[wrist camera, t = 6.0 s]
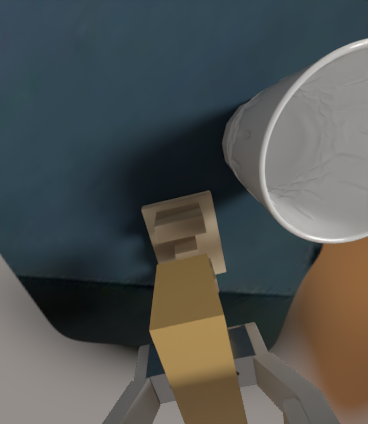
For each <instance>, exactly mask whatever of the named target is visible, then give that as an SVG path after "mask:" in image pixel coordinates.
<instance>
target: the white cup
mask: <svg viewBox="0 0 368 424" xmlns="http://www.w3.org/2000/svg"><path fill="white" fill-rule="evenodd" d="M222 147H223V152H224V158H225V162H226V163H227V165H228V166H229V167H230V169H231V170H232V171H233V172H234V174H235V176H236V177H237V179H238V180H239V181H240V182H241V183H242V184H243V186H244V187H245V188H246V189H247V190H248V191H249V193H250V194H251V195H252V196H253V197H254V198H255V199H256V200H257V201H258V202H259V203H260V204H261V205H262V206H263V207H264V208H265V209H266V210H267V211H268V212H269V213H270V214H271V215H272V216H273V217H274V218H275V219H276V220H277V221H278V222H279V223H280V224H281V225H282V226H283V227H284V228H285V229H287V230H288V231H289V232H291V233H293V234H294V235H296V236H298V237H301V238H303V239H306V240H309V241H313V242H319V243H343V242H349V241H354V240H358V239H361V238H364V237H367V236H368V39H364V40H360V41H357V42H354V43H351V44H348V45H346V46H343V47H341V48H339V49H337V50H335V51H333V52H331V53H329V54H328V55H326V56H324V57H322V58H320V59H319V60H317V61H315V62H313V63H311V64H310V65H308V66H306V67H304V68H302V69H301V70H299V71H297V72H295V73H293V74H291V75H290V76H288V77H286V78H284V79H282V80H280V81H278V82H276V83H275V84H273V85H272V86H270V87H268V88H267V89H265V90H263V91H262V92H260V93H258V94H257V95H256V96H254V97H253V98H252V99H251V100H250V101H248V102H246V103H244V104H243V105H241V106H239V108H238V109H237V110H236V112H235V113H234V114H233V115H232V117H231V118H230V119H229V121H228V122H227V124H226V128H225V132H224V136H223V140H222Z"/></svg>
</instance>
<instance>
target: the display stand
mask: <svg viewBox="0 0 368 424" xmlns="http://www.w3.org/2000/svg"><path fill="white" fill-rule="evenodd" d="M141 211H142V214H143V217H144V220H145V223H146V227H147V230H148V233H149V236H150V239H151V242H152V245H153V248H154V252H155V255H156V258H157V261H158V264H162V263H166V262H171V261H175V260H179V259H184V258H188V257H193V256H197V255H202V254H206V253H207V256H208V259H209V263H210V267H211V270H212V274H213V277H214V281H215V285H216V288H217V292H219V288H218V284H217V279H216V276H215V274H219V273H223V272H226V268H225V263H224V258H223V252H222V247H221V242H220V237H219V231H218V226H217V221H216V216H215V211H214V205H213V200H212V195H211V192H210V191H209V190H208V191H204V192H200V193H196V194H191V195H187V196H183V197H179V198H174V199H170V200H166V201H162V202H157V203H153V204H149V205H145V206H142V209H141Z"/></svg>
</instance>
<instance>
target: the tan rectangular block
mask: <svg viewBox="0 0 368 424" xmlns="http://www.w3.org/2000/svg"><path fill="white" fill-rule="evenodd" d="M149 331H150V334H151V337H152V339H153V342H154V344H155V347H156V350H157V352H158V355H159V357H160V360H161V363H162V365H163V368H164V370H165V373H166V376H167V378H168V381H169V383H170V386H171V389H172V391H173V394H174V396H175V399H176V401H177V404H178V407H179V409H180V412H181V415H182V417H183V420H184V422H185V424H247V419H246V415H245V410H244V405H243V401H242V396H241V392H240V387H239V382H238V378H237V373H236V369H235V364H234V359H233V355H232V350H231V346H230V341H229V336H228V332H227V327H226V323H225V318H224V314H223V310H222V306H221V303H220V299H219V296H218V292H217V288H216V285H215V281H214V277H213V274H212V270H211V267H210V263H209V259H208V256H207V253H206V254H202V255H197V256H193V257H188V258H184V259H179V260H175V261H171V262H166V263H162V264H157V269H156V278H155V286H154V295H153V303H152V312H151V320H150V329H149Z"/></svg>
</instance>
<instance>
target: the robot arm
mask: <svg viewBox="0 0 368 424" xmlns="http://www.w3.org/2000/svg"><path fill="white" fill-rule="evenodd" d="M227 332H228V336H229V341H230V346H231V350H232V355H233V359H234V364H235V369H236V373H237V378H238V382H239V387H244V386H250V385H255V384H258V386H259V387H260V388H261V389H262V390H263V392H264V393H265V394H266V395H267V396H268V397H269V398H270V399H271V400H272V401H273V402H274V404H275V405H276V406H277V407H278V408H279V409H280V410H281V411H282V412H283V416H284V424H340V423H339V421H338V419H337V417H336V416H335V414H334V412H333V410H332V409H331V407H330V405H329V403H328V402H327V400H326V398H325V397H324V395H323V393H322V391H320V390H319V389H318V388H317V387H315V386H314V385H313V384H312V383H310V382H309V381H308V380H306V379H305V378H304V377H303V376H301V375H300V374H299V373H297V372H296V371H295V370H293V369H292V368H291V367H289V366H288V365H287V364H286V363H284V362H283V361H282V360H281V359H279V358H278V357H277V356H275V355H274V354H273V353H272V352H271V353H268V351H267V349H266V346H265V344H264V342H263V340H262V337H261V335H260V333H259V330H258V328H257V326H256V324H255V323H254V322H252V323H248V324H242V325H238V326H234V327H229V328H227ZM175 400H176V399H175V396H174V394H173V391H172V389H171V386H170V383H169V381H168V378H167V376H166V373H165V370H164V368H163V365H162V363H161V360H160V357H159V355H158V352H157V350H156V347H155V344H149V345H144V346H140V348H139V352H138V358H137V365H136V371H135V378H134V381H131V382H130V384H129V385H128V387H127V388H126V390H125V391H124V392H123V394H122V395H121V397H120V398H119V400H118V402H117V403H116V404H115V406H114V407H113V409H112V410H111V412H110V413H109V415H108V416H107V418H106V419H105V420H104V422H103V423H102V424H152V423H153V420H154V418H155V416H156V414H157V412H158V409H159V407H160V404H162V403H166V402H170V401H175Z"/></svg>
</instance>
